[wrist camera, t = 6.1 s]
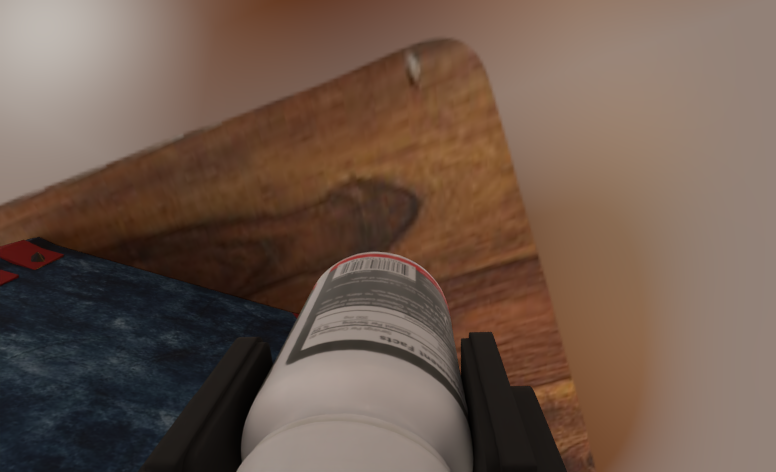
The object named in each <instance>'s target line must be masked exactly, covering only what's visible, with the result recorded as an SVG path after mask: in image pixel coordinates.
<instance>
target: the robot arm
mask: <svg viewBox="0 0 776 472" xmlns="http://www.w3.org/2000/svg"><path fill="white" fill-rule="evenodd" d="M272 366H273V361H272V355H271V349H270V345H269V343H267V342H263V340H262V338H261V337H239V338H237V339H236V340H235V341H234V343H233V344H232V345H231V347H230V348H229V349H228V351H227V352H226V353H225V355H224V356H223V358H222V359H221V360H220V362H219V363H218V364H217V366H216V367H215V368H214V370H213V371H212V373H211V374H210V375H209V377H208V378H207V379H206V381H205V382H204V383H203V385H202V386H201V388H200V389H199V390H198V392H197V393H196V394H195V395H194V396H193V397H192V399H191V400H190V401H189V403H188V404H187V405H186V407H185V408H184V409H183V411H182V412H181V414H180V415H179V416H178V418H177V419H176V420H175V422H174V423H173V424H172V426H171V427H170V428H169V430H168V431H167V433H166V434H165V435H164V437H163V438H162V439H161V441H160V442H159V443H158V445H157V446H156V447H155V449H154V450H153V452H152V453H151V454H150V456H149V457H148V458H147V460H146V461H145V462H144V464H143V465H142V466H141V468H140V469H139V471H138V472H236V471H237V470H238V468H239V466H240V465H241V464H242V459H241V441H242V433H243V429H244V425H245V421H246V418H247V416H248V413H249V411H250V408H251V406H252V404H253V402H254V399H255V397H256V395H257V393H258V391H259V389H260V388H261V386H262V384H263V382H264V380H265V379H266V377H267V375H268V373H269V371H270V369H271V367H272ZM461 379H462V383H463V389H464V393H465V400H466V404H467V408H468V418H469V424H470V430H471V436H472V445H473V457H474V462H473V472H567V470H566V468H565V466H564V463H563V461H562V458H561V456H560V453H559V451H558V449H557V446H556V444H555V441H554V439H553V436H552V434H551V432H550V429H549V427H548V424H547V422H546V419H545V417H544V415H543V412H542V410H541V407H540V405H539V402H538V400H537V398H536V395H535V393H534V391H533V389H532V387H530V386H510V384H509V381H508V378H507V375H506V372H505V369H504V366H503V363H502V360H501V357H500V354H499V351H498V348H497V345H496V342H495V339H494V336H493V334H492V332H470V333H469V338H462V339H461Z"/></svg>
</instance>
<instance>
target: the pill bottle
mask: <svg viewBox="0 0 776 472" xmlns="http://www.w3.org/2000/svg"><path fill="white" fill-rule="evenodd" d="M241 459H242V464H241V465H240V466H239V468H238V470H237V471H236V472H473V462H474V457H473V445H472V436H471V430H470V424H469V418H468V408H467V404H466V400H465V393H464V389H463V383H462V379H461V375H460V370H459V365H458V359H457V353H456V348H455V342H454V337H453V330H452V325H451V317H450V311H449V308H448V304H447V301H446V299H445V296H444V294H443V292H442V290H441V288H440V287H439V285H438V283H437V282H436V281H435V279H434V278H433V277H432V276H431V275H430V274H429V273H428V272H427V271H426V270H425V269H424V268H423V267H421V266H420V265H418V264H417V263H415V262H414V261H412V260H410V259H407V258H405V257H402V256H399V255H396V254H392V253H386V252H366V253H360V254H356V255H353V256H350V257H348V258H346V259H343V260H342V261H340V262H338V263H336V264H335V265H333V266H332V267H330V268H329V269H328V270H327V271H326V272H325V273H324V274H323V275H322V276H321V277H320V278H319V280H318V281H317V283H316V284H315V286H314V288H313V289H312V291H311V293H310V295H309V297H308V299H307V301H306V303H305V305H304V307H303V309H302V310H301V313H300V315H299V316H298V318H297V320H296V322H295V324H294V326H293V328H292V330H291V332H290V334H289V335H288V337H287V339H286V341H285V343H284V345H283V347H282V349H281V350H280V352H279V354H278V356H277V358H276V360H275V362H274V364H273V366H272V367H271V369H270V371H269V373H268V375H267V377H266V379H265V380H264V382H263V384H262V386H261V388H260V389H259V391H258V393H257V395H256V397H255V399H254V402H253V404H252V406H251V408H250V411H249V413H248V416H247V418H246V421H245V425H244V429H243V433H242V441H241Z"/></svg>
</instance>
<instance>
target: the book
mask: <svg viewBox="0 0 776 472" xmlns="http://www.w3.org/2000/svg"><path fill="white" fill-rule="evenodd" d="M299 315H300V314H296V313H293V312H292V313H291V312H287V311H284V310H280V309H277V308H273V307H270V306H266V305H263V304H259V303H256V302H252V301H249V300H245V299H242V298H238V297H235V296H231V295H228V294H224V293H221V292H218V291H214V290H211V289H207V288H204V287H200V286H197V285H193V284H190V283H186V282H183V281H179V280H176V279H172V278H169V277H165V276H162V275H158V274H155V273H151V272H148V271H144V270H141V269H137V268H134V267H130V266H127V265H123V264H120V263H116V262H113V261H109V260H106V259H103V258H99V257H96V256H92V255H89V254H85V253H82V252H78V251H75V250H71V249H68V248H64V247H61V246H57V245H55V244H53V243H51V242H48V241H46V240H44V239H42V238H40V237H37V238H32V239H28V240H22V241H18V242H14V243H11V244H7V245H4V246H1V247H0V472H138V471H139V469H140V468H141V466H142V465H143V464H144V462H145V461H146V460H147V458H148V457H149V456H150V454H151V453H152V452H153V450H154V449H155V447H156V446H157V445H158V443H159V442H160V441H161V439H162V438H163V437H164V435H165V434H166V433H167V431H168V430H169V428H170V427H171V426H172V424H173V423H174V422H175V420H176V419H177V418H178V416H179V415H180V414H181V412H182V411H183V409H184V408H185V407H186V405H187V404H188V403H189V401H190V400H191V399H192V397H193V396H194V395H195V394H196V393H197V392H198V390H199V389H200V388H201V386H202V385H203V383H204V382H205V381H206V379H207V378H208V377H209V375H210V374H211V373H212V371H213V370H214V368H215V367H216V366H217V364H218V363H219V362H220V360H221V359H222V358H223V356H224V355H225V353H226V352H227V351H228V349H229V348H230V347H231V345H232V344H233V343H234V341H235V340H236V339H237V338H239V337H261V338H262V340H263V342H267V343H269V345H270V349H271V355H272V361H273V364H274V362H275V360H276V358H277V356H278V354H279V352H280V350H281V349H282V347H283V345H284V343H285V341H286V339H287V337H288V335H289V334H290V332H291V330H292V328H293V326H294V324H295V322H296V320H297V318H298V316H299Z"/></svg>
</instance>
